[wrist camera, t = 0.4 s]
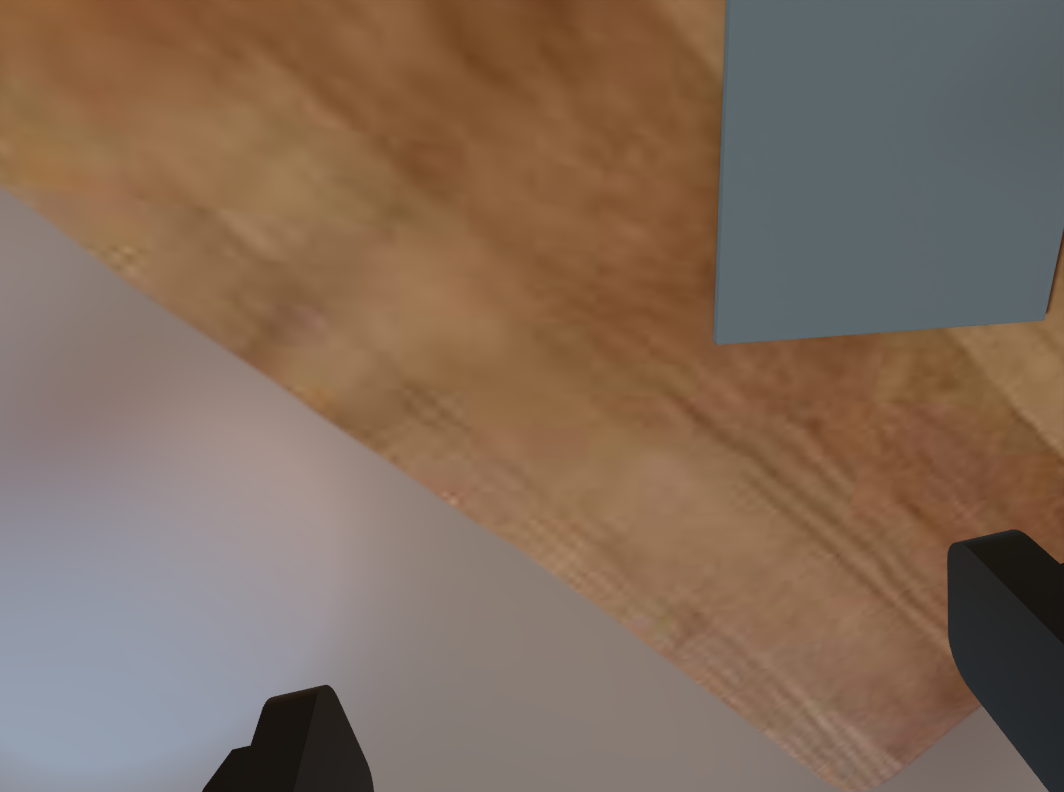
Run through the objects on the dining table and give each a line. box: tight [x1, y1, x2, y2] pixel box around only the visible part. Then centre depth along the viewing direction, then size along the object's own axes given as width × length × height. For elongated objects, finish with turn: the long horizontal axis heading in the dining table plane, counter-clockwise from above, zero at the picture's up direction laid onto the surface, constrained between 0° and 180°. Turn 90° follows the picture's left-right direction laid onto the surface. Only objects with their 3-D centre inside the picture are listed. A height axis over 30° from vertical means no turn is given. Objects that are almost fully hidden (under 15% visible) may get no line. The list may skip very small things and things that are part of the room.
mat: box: [713, 0, 1064, 345], centre depth 34 cm, size 18×16×1 cm
